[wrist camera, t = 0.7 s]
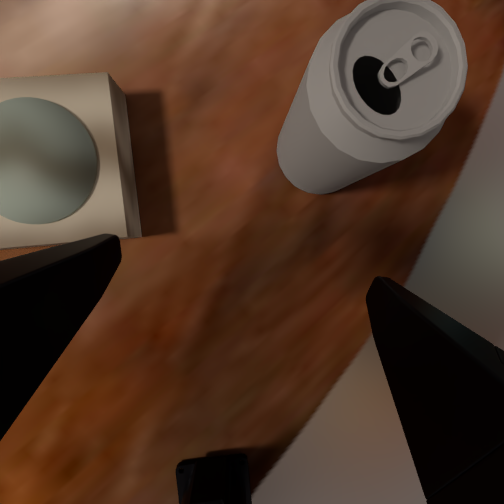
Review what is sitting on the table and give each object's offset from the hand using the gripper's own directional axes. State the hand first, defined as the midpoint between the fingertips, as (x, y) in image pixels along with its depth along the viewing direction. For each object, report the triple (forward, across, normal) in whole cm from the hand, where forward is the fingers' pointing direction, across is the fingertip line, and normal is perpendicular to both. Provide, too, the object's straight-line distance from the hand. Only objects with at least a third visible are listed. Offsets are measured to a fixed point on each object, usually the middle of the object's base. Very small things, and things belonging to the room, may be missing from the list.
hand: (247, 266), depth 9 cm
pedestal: (+14, +16, +3) cm, 22 cm away
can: (+17, -5, -2) cm, 18 cm away
